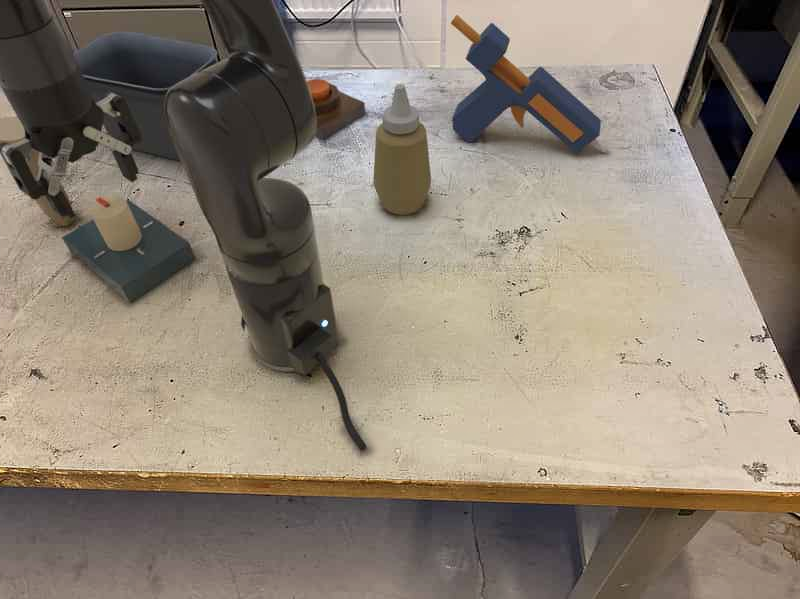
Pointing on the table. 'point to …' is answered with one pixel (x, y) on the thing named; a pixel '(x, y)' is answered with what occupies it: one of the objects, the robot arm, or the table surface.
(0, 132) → the handle
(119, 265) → the dial panel
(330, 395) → the table surface
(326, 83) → the button
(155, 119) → the storage bin
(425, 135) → the squeeze bottle
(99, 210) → the dial
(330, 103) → the button block
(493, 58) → the glue gun
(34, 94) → the robot arm
